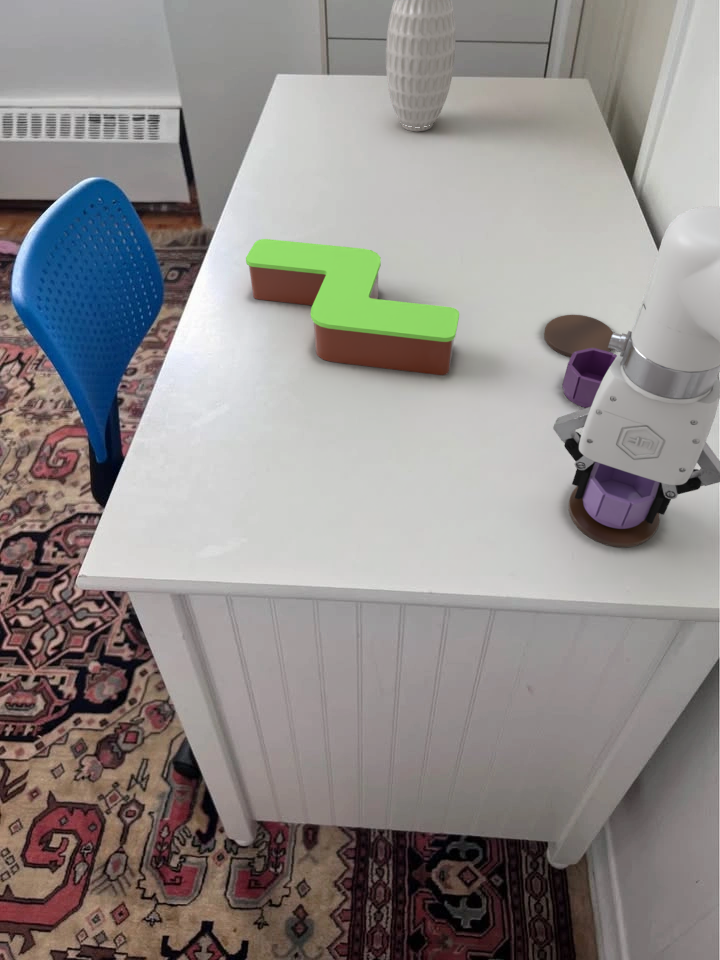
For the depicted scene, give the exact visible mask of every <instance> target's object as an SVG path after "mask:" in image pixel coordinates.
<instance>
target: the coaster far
mask: <svg viewBox="0 0 720 960" xmlns="http://www.w3.org/2000/svg"><path fill="white" fill-rule="evenodd" d="M612 334H613V330H612V329H611V328H610V327H609V326H608V325H607V324H606V323H604V322H603V321H601V320H599V319H598V318H595V317H591V316H588V315H582V314H565V315H559V316H557V317H555V318H553V319H551V320H549V321H548V323H547V324H546V325H545V328H544V331H543V337H544V341H545V342H546V344H547V345H548V346H549V348H551V349H552V350H553V351H555V352H556V353H559V354H560V355H563V356H565V357H569V358H571V356H572V354H573V353H574V352H575V351H580V350H584V349H588V348H593V349H594V348H597V349H600V350H604V351H608V352H611V351H612V350H613V349H612V348H608V346H609V342H610V340H611V337H612Z"/></svg>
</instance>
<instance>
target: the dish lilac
mask: <svg viewBox="0 0 720 960" xmlns="http://www.w3.org/2000/svg"><path fill="white" fill-rule="evenodd" d="M659 483H660V482H657V481H654V480H651V479H648V478H644V477H641V476H638V475H635V474H632V473H629V472H625V471H622V470H619V469H616V468H613V467H610V466H607V465H604V464H601V463H598V462H595V464H594V466H593V469H592V471H591V474H590V477H589V480H588V483H587V486H586V488H585V491H584V494H583V497H582V498H583V505H584V507H585V510H586V511H587V513H588V514H589V515H590V516H591V517H592V518H593V519H594V520H596V521H597V522H599V523H601V524H603V525H605V526H608V527H611V528H617V529H627V528H632V527H635V526H637V525H639V524H640V523H641V522H642V521H644V520H645V519H646V517H647V515H648V512H649V510H650V508H651V506H652V504H653V501H654V499H655V497H656V493H657V490H658V487H659Z"/></svg>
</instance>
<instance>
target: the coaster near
mask: <svg viewBox="0 0 720 960" xmlns="http://www.w3.org/2000/svg"><path fill="white" fill-rule="evenodd" d="M577 489H578V486H575V488H574V489H573V491H572V492H571V494H570V497H569V500H568V513H569V516H570V518H571V521H572V522H573V524H574V525H575V527H576V528H578V530H579V531H581V532H582V534H584V535H585V536H587V537H588V538H590V539H591V540H594V541H595V542H598V543H600V544H603V545H605V546H610V547H615V548H631V547H636V546H639V545H642V544H644V543H646V542H648V541H649V540H650V539H651V538H652V537H653V536H654V535H655V534H656V532H657V530H658V529H659V528H658V527H659V525H660V514H659V513H657V514H656V516H655V519H654V521H653V523H652V524H650V523H647V521H646V520H644V521H642V522H641V523H640V524H639V525H637V526H635V527H632V528H627V529H617V528H611V527H608V526H605V525H603V524H601V523H599V522H597V521H596V520H594V519H593V518H592V517H591V516H590V515H589V514H588V513H587V511H586V510H585V507H584V505H583V498H582V499H581V498H580V499H576V498H575V495H576V492H577Z"/></svg>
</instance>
